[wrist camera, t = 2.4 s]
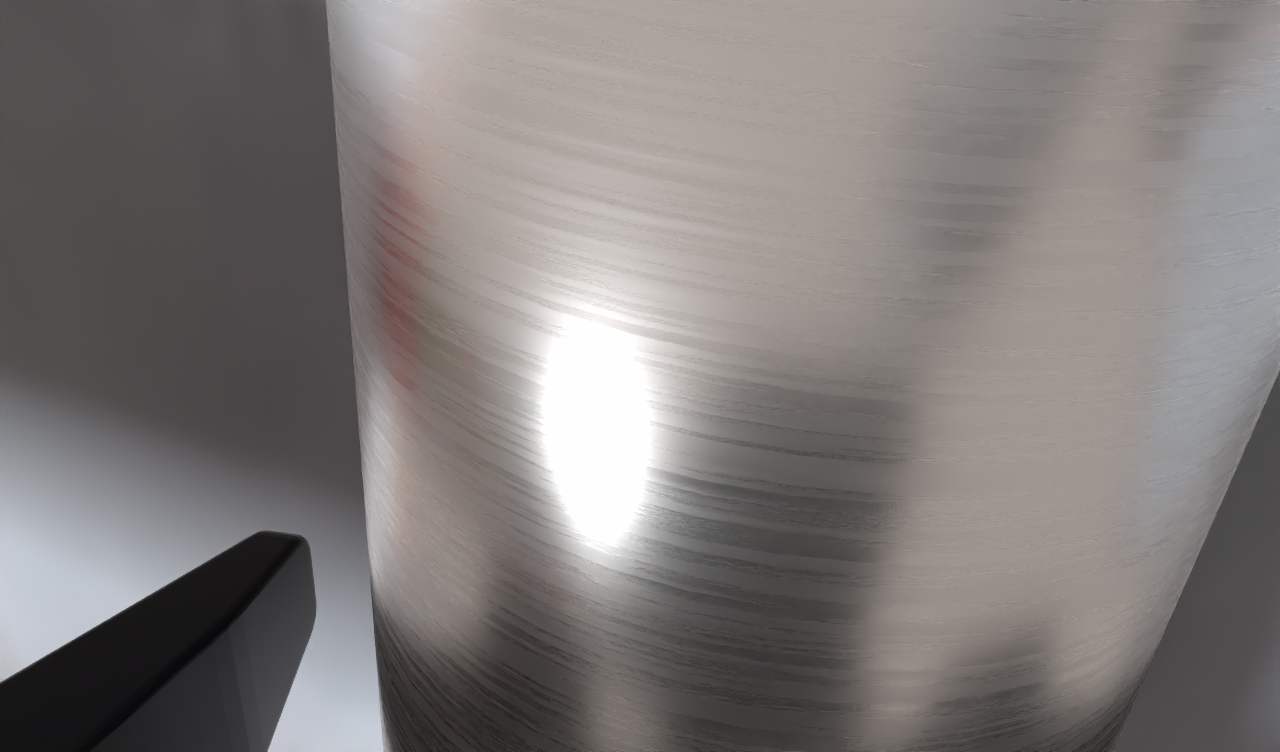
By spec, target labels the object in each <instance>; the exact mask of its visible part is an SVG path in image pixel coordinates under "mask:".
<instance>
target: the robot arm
mask: <svg viewBox="0 0 1280 752" xmlns="http://www.w3.org/2000/svg"><path fill="white" fill-rule="evenodd" d="M315 617H316V596H315V587H314V578H313V569H312V560H311V552H310V547H309V544H308V542H307V540H306V539H305V538H304V537H302V536H300V535H296V534H289V533H282V532H274V531H260V532H257V533H255V534H253V535H251V536H250V537H248V538H246V539H244V540H243V541H241V542H239V543H238V544H236V545H234V546H233V547H231V548H229V549H227V550H226V551H224V552H222V553H221V554H219V555H217V556H215V557H214V558H212V559H210V560H209V561H207V562H205V563H203V564H202V565H200V566H198V567H197V568H195V569H193V570H192V571H190V572H188V573H186V574H185V575H183V576H181V577H180V578H178V579H176V580H174V581H173V582H171V583H169V584H168V585H166V586H164V587H162V588H161V589H159V590H157V591H156V592H154V593H152V594H151V595H149V596H147V597H145V598H144V599H142V600H140V601H139V602H137V603H135V604H133V605H132V606H130V607H128V608H127V609H125V610H123V611H121V612H120V613H118V614H116V615H115V616H113V617H111V618H110V619H108V620H106V621H104V622H103V623H101V624H99V625H98V626H96V627H94V628H92V629H91V630H89V631H87V632H86V633H84V634H82V635H80V636H79V637H77V638H75V639H74V640H72V641H70V642H68V643H67V644H65V645H63V646H62V647H60V648H58V649H57V650H55V651H53V652H51V653H50V654H48V655H46V656H45V657H43V658H41V659H39V660H38V661H36V662H34V663H33V664H31V665H29V666H27V667H26V668H24V669H22V670H21V671H19V672H17V673H16V674H14V675H12V676H10V677H9V678H7V679H5V680H4V681H2V682H0V752H267V751H268V748H269V746H270V743H271V740H272V738H273V735H274V732H275V730H276V727H277V724H278V722H279V719H280V716H281V714H282V711H283V708H284V705H285V703H286V700H287V697H288V695H289V692H290V689H291V687H292V684H293V681H294V679H295V676H296V673H297V671H298V668H299V665H300V662H301V660H302V657H303V654H304V652H305V649H306V646H307V644H308V641H309V638H310V636H311V633H312V630H313V626H314V622H315Z"/></svg>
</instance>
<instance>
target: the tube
mask: <svg viewBox="0 0 1280 752" xmlns="http://www.w3.org/2000/svg"><path fill="white" fill-rule="evenodd" d="M326 10H327V23H328V36H329V49H330V62H331V75H332V88H333V101H334V114H335V127H336V140H337V153H338V166H339V179H340V192H341V205H342V218H343V231H344V244H345V257H346V270H347V283H348V296H349V309H350V322H351V335H352V348H353V361H354V374H355V387H356V400H357V413H358V426H359V439H360V451H361V464H362V477H363V490H364V503H365V516H366V529H367V542H368V555H369V568H370V581H371V594H372V607H373V620H374V633H375V646H376V659H377V672H378V685H379V698H380V711H381V724H382V737H383V750H384V752H1112V750H1113V747H1114V745H1115V743H1116V741H1117V738H1118V736H1119V734H1120V732H1121V729H1122V727H1123V725H1124V722H1125V720H1126V718H1127V716H1128V713H1129V711H1130V709H1131V707H1132V704H1133V702H1134V700H1135V698H1136V695H1137V693H1138V691H1139V688H1140V686H1141V684H1142V682H1143V679H1144V677H1145V675H1146V673H1147V670H1148V668H1149V666H1150V664H1151V661H1152V659H1153V657H1154V654H1155V652H1156V650H1157V648H1158V645H1159V643H1160V641H1161V639H1162V636H1163V634H1164V632H1165V630H1166V627H1167V625H1168V623H1169V620H1170V618H1171V616H1172V614H1173V611H1174V609H1175V607H1176V605H1177V602H1178V600H1179V598H1180V596H1181V593H1182V591H1183V589H1184V586H1185V584H1186V582H1187V580H1188V577H1189V575H1190V573H1191V571H1192V568H1193V566H1194V564H1195V562H1196V559H1197V557H1198V555H1199V552H1200V550H1201V548H1202V546H1203V543H1204V541H1205V539H1206V537H1207V534H1208V532H1209V530H1210V528H1211V525H1212V523H1213V521H1214V518H1215V516H1216V514H1217V512H1218V509H1219V507H1220V505H1221V503H1222V500H1223V498H1224V496H1225V494H1226V491H1227V489H1228V487H1229V484H1230V482H1231V480H1232V478H1233V475H1234V473H1235V471H1236V469H1237V466H1238V464H1239V462H1240V460H1241V457H1242V455H1243V453H1244V450H1245V448H1246V446H1247V444H1248V441H1249V439H1250V437H1251V435H1252V432H1253V430H1254V428H1255V426H1256V423H1257V421H1258V419H1259V416H1260V414H1261V412H1262V410H1263V407H1264V405H1265V403H1266V401H1267V398H1268V396H1269V394H1270V392H1271V389H1272V387H1273V385H1274V382H1275V380H1276V378H1277V376H1278V373H1279V371H1280V0H326Z"/></svg>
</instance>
